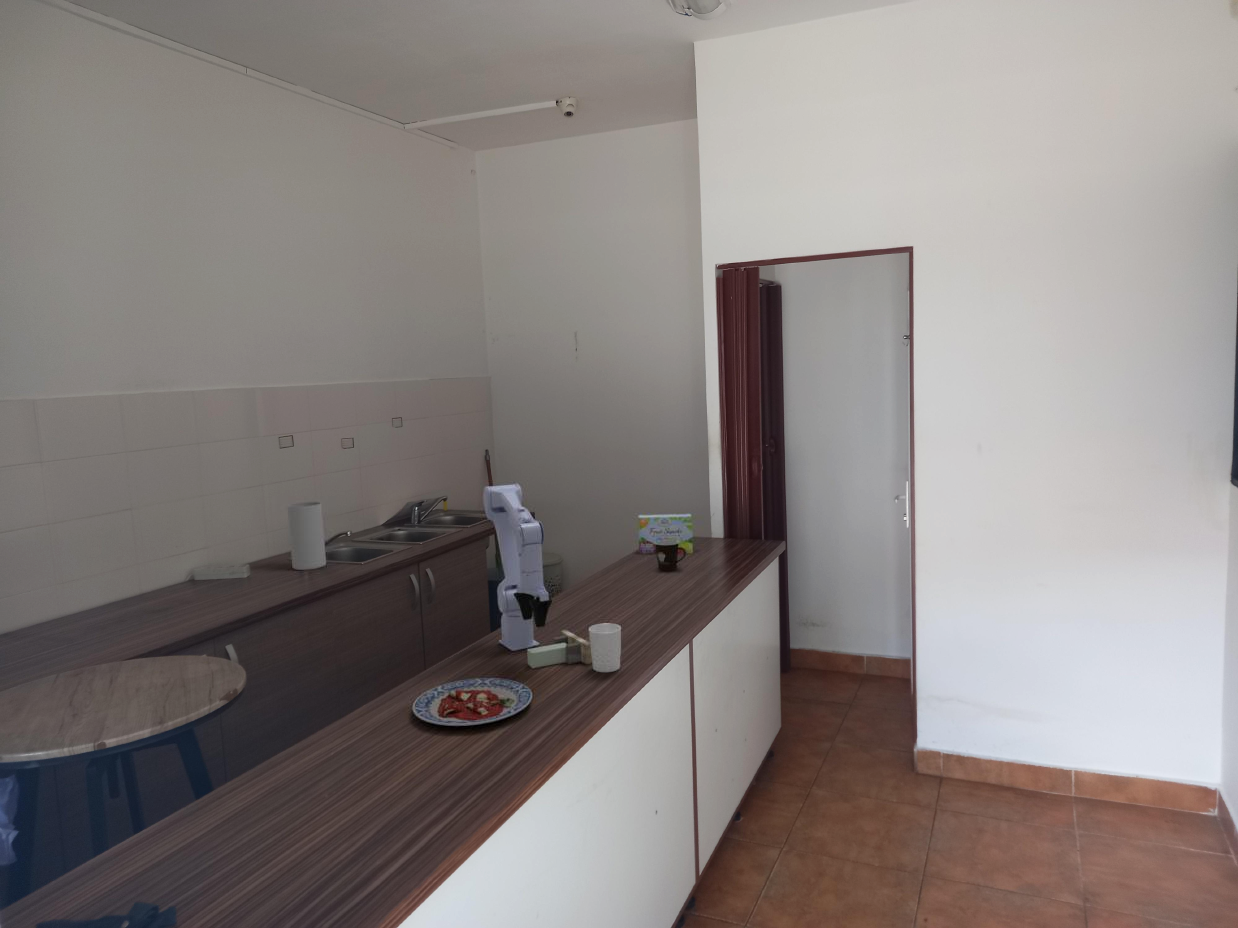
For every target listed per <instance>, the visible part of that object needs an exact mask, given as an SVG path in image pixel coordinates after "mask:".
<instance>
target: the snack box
mask: <svg viewBox="0 0 1238 928" xmlns="http://www.w3.org/2000/svg"><path fill="white" fill-rule="evenodd" d="M637 521H638V524H637V525H638V527H637V529H638V553H639V555H652V554H653V555H654V554H655V555H657V554H656V547H655V542H657V541H662V540H674V541H678V542H679V546H678V548H680V547H681V548H683V549H684V550H685V552H686V554H692V553H694V547H693V546H694V545H693V544H694V541H693V537H694V536H693V517H692V513H676V514H675V513H673V514H672V513H671V514H667V513H666V514H665V513H664V514H639V515H637ZM678 554H684V552H683V550H682V549H679V550H678Z"/></svg>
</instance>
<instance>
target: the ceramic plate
mask: <svg viewBox="0 0 1238 928" xmlns="http://www.w3.org/2000/svg"><path fill="white" fill-rule="evenodd" d="M532 698H533V693H532V690H531V689H530V688H529V687H528V686H527V685H525V684H523V683H520V682H518V681H514V680H511V679H504V678H498V677H497V678H495V677H484V678H483V677H482V678H480V677H479V678H469V679H463V680H456V681H452V682H449V683H444V684H442V685H438V686H436V687H434V688H431V689H428V690H427V691H425V692H423V693H422V694H421V695H420V696H418V697H417V698H416V699H415V701H414V702H413V704H412V711H413V714H414V715H415V716H416V717H417V718H419V719H420V720H422V721H424V722H427V723H430V724H435V725H439V726H451V727H452V726H453V727H459V726H460V727H462V726H463V727H464V726H465V727H466V726H475V725H483V724H489V723H492V722H497V721H500V720H504V719H506V718H509V717H512V716H514V715H515V714H518V713H519V712H521V711H523V710H524V709H526V707H528V705H529V704H530V703H531V701H532Z"/></svg>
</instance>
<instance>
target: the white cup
mask: <svg viewBox="0 0 1238 928" xmlns="http://www.w3.org/2000/svg"><path fill="white" fill-rule="evenodd" d="M588 636H589V643H590V648H591V658H592V663H591V664H592V669H593V670H594V671H595V672H598V673H612V672H615V671H618V670H619V669H621V655H622V654H621V653H622V627H621V625H619V624H616V623H609V622H607V623H606V622H605V623H604V622H603V623H597V624H593V625H591V626H589V628H588Z"/></svg>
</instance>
